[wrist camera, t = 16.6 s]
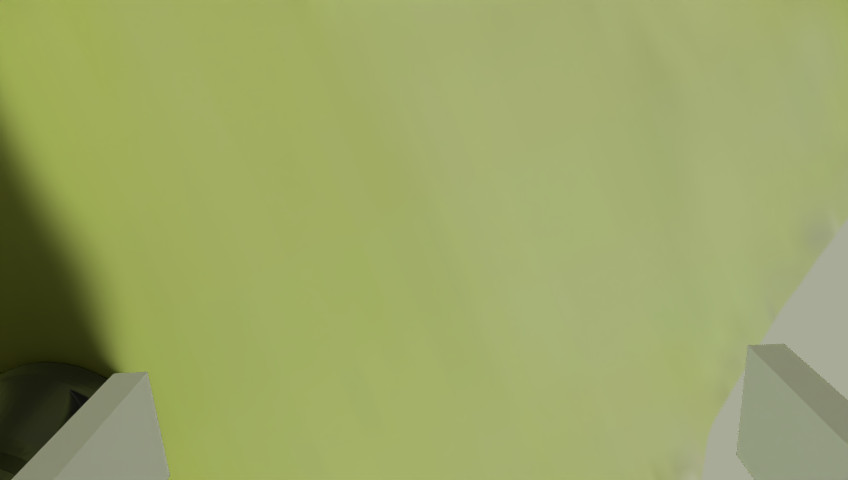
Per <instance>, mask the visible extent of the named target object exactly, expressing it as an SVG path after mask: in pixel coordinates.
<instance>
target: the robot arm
mask: <svg viewBox="0 0 848 480" xmlns="http://www.w3.org/2000/svg"><path fill="white" fill-rule="evenodd" d="M736 455H737V456H738V457H739V459H740V460H741V462H742V463H743V465H744V466H745V467H746V469H747V470H748V471H749V473H750V474H751V476H752V477H753V478H754V480H848V400H847V399H846V398H845V397H844V396H842V395H841V394H840V393H839V392H838V391H837V390H836V389H834V388H833V387H832V386H831V385H830V384H829V383H828V382H827V381H826V380H824V379H823V378H822V377H821V376H820V375H819V374H817V372H815V371H814V370H813V369H812V368H810V366H809V365H807V364H806V363H805V362H804V361H803V360H802V359H801V358H800V357H798V356H797V355H796V354H795V353H794V352H793V351H792V350H790V349H789V348H788V347H787V346H786V345H785V344H769V345H748V347H747V357H746V367H745V376H744V386H743V396H742V405H741V416H740V424H739V434H738V443H737V453H736ZM169 477H170V473H169V469H168V464H167V460H166V455H165V450H164V446H163V441H162V437H161V432H160V427H159V423H158V418H157V414H156V409H155V404H154V400H153V395H152V391H151V386H150V381H149V377H148V372H136V373H114V374H113V375H112V376H111V377H110V378H109V379H108V380H107V379H105V378H104V377H102V376H100V375H98V374H96V373H93V372H91V371H89V370H86V369H83V368H80V367H76V366H72V365H68V364H62V363H50V362H48V363H33V364H27V365H23V366H19V367H16V368H14V369H11V370H9V371H7V372H5V373H3V374H1V375H0V480H168V478H169Z"/></svg>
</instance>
